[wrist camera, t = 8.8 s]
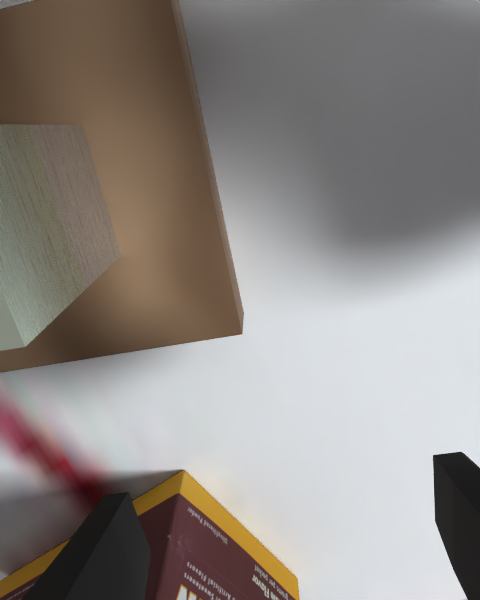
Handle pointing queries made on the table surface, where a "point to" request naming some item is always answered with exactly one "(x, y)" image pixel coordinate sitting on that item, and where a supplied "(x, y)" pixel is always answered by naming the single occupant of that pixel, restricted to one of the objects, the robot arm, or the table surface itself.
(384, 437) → the table surface
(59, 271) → the block
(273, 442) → the table surface
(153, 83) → the walnut stand
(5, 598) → the supplement box
